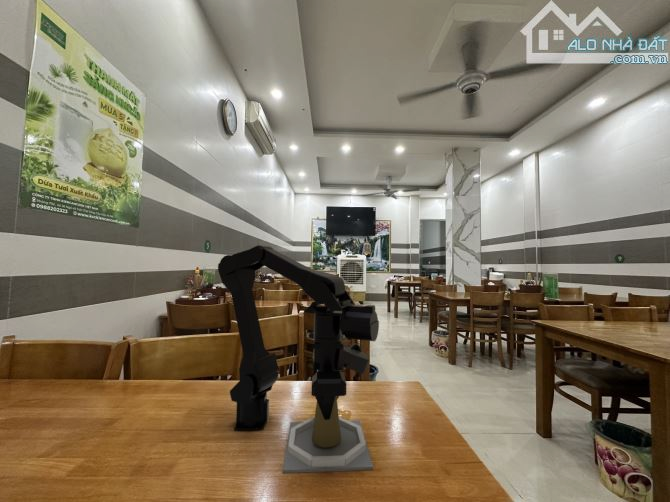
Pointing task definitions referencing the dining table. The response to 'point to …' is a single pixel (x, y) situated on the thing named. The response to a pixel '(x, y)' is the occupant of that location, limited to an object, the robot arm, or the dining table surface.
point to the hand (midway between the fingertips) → (326, 413)
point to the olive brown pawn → (326, 427)
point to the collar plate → (326, 449)
